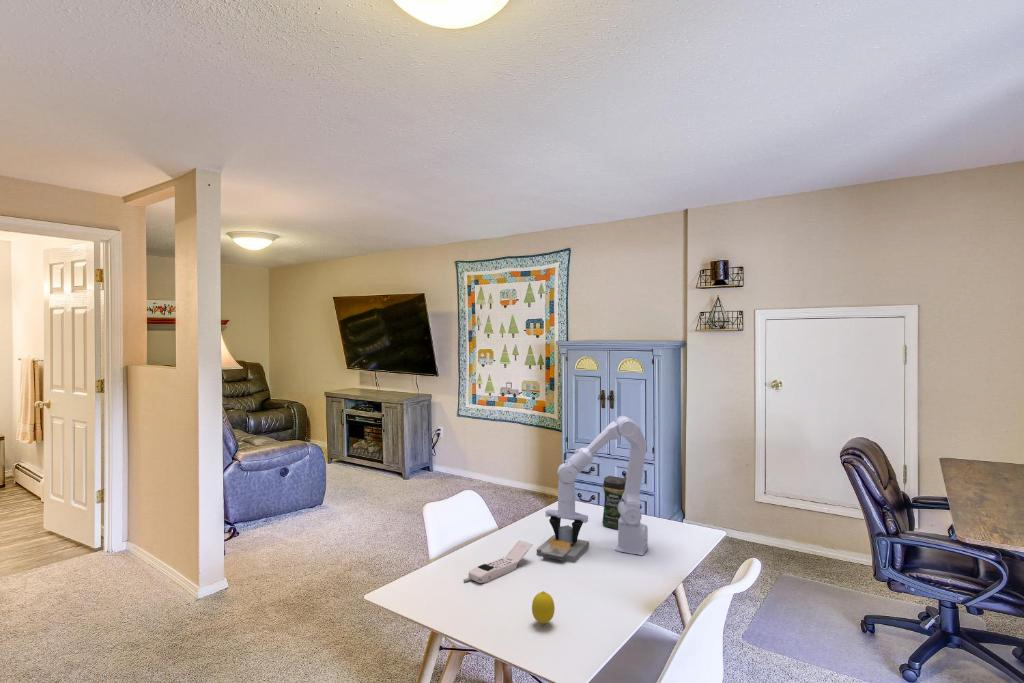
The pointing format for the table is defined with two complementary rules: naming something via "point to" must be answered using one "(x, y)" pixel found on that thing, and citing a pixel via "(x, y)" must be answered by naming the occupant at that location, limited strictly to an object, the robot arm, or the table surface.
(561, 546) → the panel
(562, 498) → the robot arm
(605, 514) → the coffee jar
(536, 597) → the lemon
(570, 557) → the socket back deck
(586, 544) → the socket near rim
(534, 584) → the table surface
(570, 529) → the plug
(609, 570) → the table surface
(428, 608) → the table surface
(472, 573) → the mobile phone
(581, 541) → the socket front rim
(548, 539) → the socket far rim
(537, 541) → the table surface
